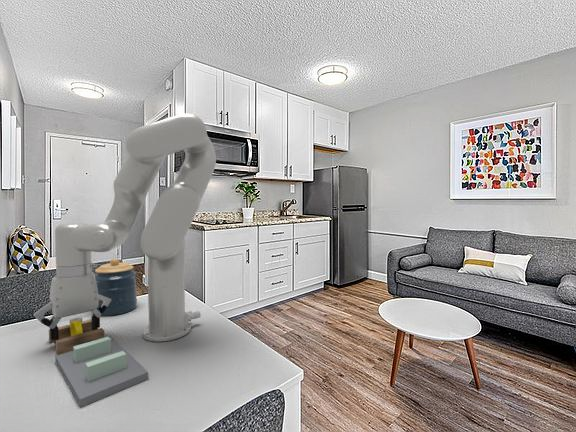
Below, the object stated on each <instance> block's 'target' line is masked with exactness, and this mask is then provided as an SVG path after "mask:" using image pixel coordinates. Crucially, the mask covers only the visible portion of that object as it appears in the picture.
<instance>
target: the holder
mask: <svg viewBox="0 0 576 432" xmlns="http://www.w3.org/2000/svg"><path fill="white" fill-rule="evenodd" d="M81 325H82V331H83V333H81V334H78V335H74V336H71V332H70V324H65V325H61V326H57V327H58V331H59V340H56V344H55V353H56V356H57V355H60V354H64V353H67V352H70V351H73V347H74V346H77V345H81V344H84V343H88V342H91V341H94V340H98V339H101V338H105V329H103V327H99V328H98V329H96V330H92V318H90V319H87V320H82V322H81ZM48 341H49V343H50V344H52V343H55V342H54V341H53V340H50V328H49V329H48Z"/></svg>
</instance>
